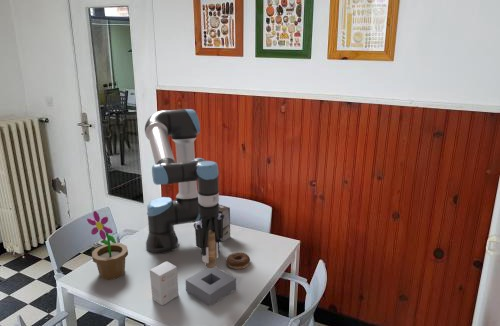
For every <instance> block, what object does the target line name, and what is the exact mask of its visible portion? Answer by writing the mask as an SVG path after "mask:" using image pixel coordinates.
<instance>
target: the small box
mask: <svg viewBox="0 0 500 326" xmlns="http://www.w3.org/2000/svg"><path fill="white" fill-rule="evenodd" d="M149 276H150V277H149V278H150V286H151V287H150V288H151V296H152V297H151V298H152V300H153V301H155V302H156V303H158V304H159V305H161V306H163V305H166V304H167V303H169V302H170V301H172V300H173V299H175V298H177V297H179V282H178V267H177V266H176V265H174V264H172V263H170V262H169V261H164V262H162V263H161V264H158V265H156V266H154V267H153V268H151V269H149ZM163 307H164V306H163Z"/></svg>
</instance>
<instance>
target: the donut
mask: <svg viewBox="0 0 500 326" xmlns="http://www.w3.org/2000/svg"><path fill="white" fill-rule="evenodd" d="M225 261H226V265H227V266H228V267H230V268H231V269H234V270H241V269H244V268H247V267H248V266H249V264H250V262H251V258H250V256H249V255H248V254H247V253H246V252H242V251H237V252H233V253H230V254H229V255H228V256H227V257H226V260H225Z"/></svg>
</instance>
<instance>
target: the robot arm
mask: <svg viewBox="0 0 500 326" xmlns="http://www.w3.org/2000/svg"><path fill="white" fill-rule="evenodd" d="M200 133H201V125H200V120H199V116H198V114H197V112H196V110H194V109H191V108H187V109H186V108H181V109H169V110H167V109H164V110H158V111H156V112H155V113H153V114H152V115H150V116H149V117H148V119H147V121H146V123H145V125H144V134H145V137H146V138H147V140H149V144H150V147H151V148H150V149H151V151H152V152H151V153H152V156H153V159H154V164H153V165H152V167H151V174H152V182H153V184H154V185H156V186H159V185H164V186H165V185H171V184H177V185H178V193H177V194H176V196H175V199H174V200H173V199H172V198H171V197H169V196H167V197H166V196H161V197H157V198H155V199H152V200H151V201H149V202H148V204H147V206H146V207H147V208H146V210H147V212H146V216H147V223H148V224H147V226H148V234H147V239H146V241H145V248H146V250H147V251H148V252H150V253H151V254H152V253H153V254H167V253H170V252H172V251H174V250H176V249H177V248H178V247H179V239H178V236H177V234H176V232H175V228H174V227H175V226H176V225H177V226H179V225H183V224H189V223H190V224H191V223H193V227H194V232H195V247H197V248H199V249H200V254H201V256H202V259H201V260H202V262H204V264H205V263H209V254H208V247H207V240H208V233H209V231H210V227H211V230H212V231H215V252H216V259H218V258H219V253H218V248H219V249H220V243H221V242H222V241H221V240H220V239H222V238H223V219H224V215H223V214H220V213H219V205H220V204H219V202H220V196H219V195H220V193H219V192H220V191H219V189H220V187H219V185H220V184H219V173H220V171H219V165H218V163H217V162H216V161H212V160H205V158H202V157H196V156H195V155H196V154H195V140H196V139H197V137H198V135H199V134H200ZM168 136H169V137H170V136H171V140H172V141H173V142H174V143H175V144H174V145H175V153H176V154H175V157H176V158H175V157H174V153H173V150H172V148H171V143H170V141H169V137H168ZM195 157H196V158H195ZM175 159H176V160H175ZM196 222H197V223H196Z"/></svg>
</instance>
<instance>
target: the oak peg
mask: <svg viewBox="0 0 500 326" xmlns="http://www.w3.org/2000/svg"><path fill="white" fill-rule="evenodd" d="M207 247H208V254H209V263H205V262H204V264H205V267H206V268H213V267H216V265H217V264H216V263H217V261H216V259H217V258H216V252H215V231H212V230H210V231H209V233H208V240H207Z"/></svg>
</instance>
